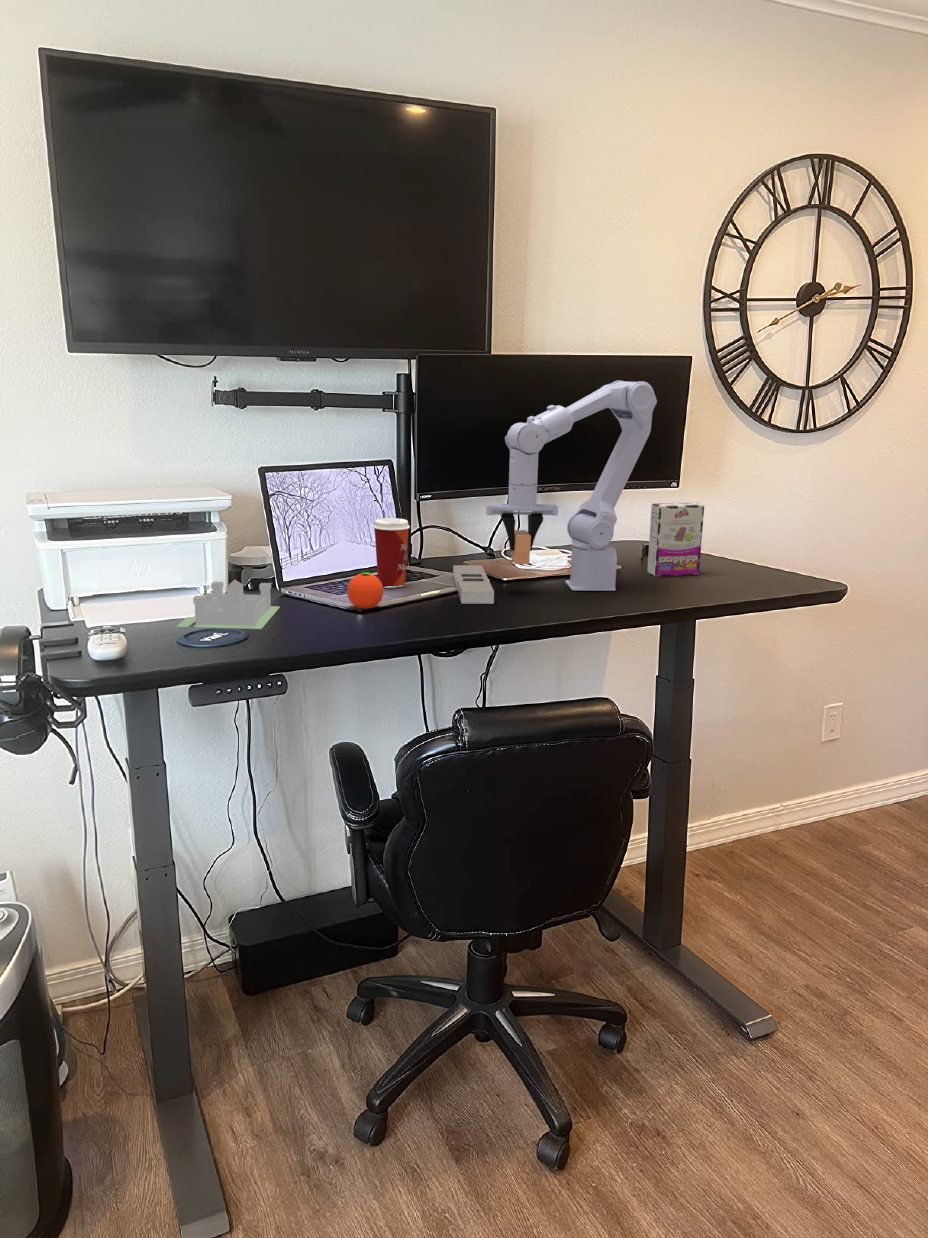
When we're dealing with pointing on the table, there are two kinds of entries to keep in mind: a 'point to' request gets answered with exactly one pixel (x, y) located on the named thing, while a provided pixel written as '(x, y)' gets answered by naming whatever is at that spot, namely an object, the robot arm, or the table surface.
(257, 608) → the castle model
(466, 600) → the rail
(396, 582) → the paper cup
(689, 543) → the candy bar box
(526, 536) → the orange block
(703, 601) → the table surface
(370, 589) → the clementine
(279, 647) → the table surface
